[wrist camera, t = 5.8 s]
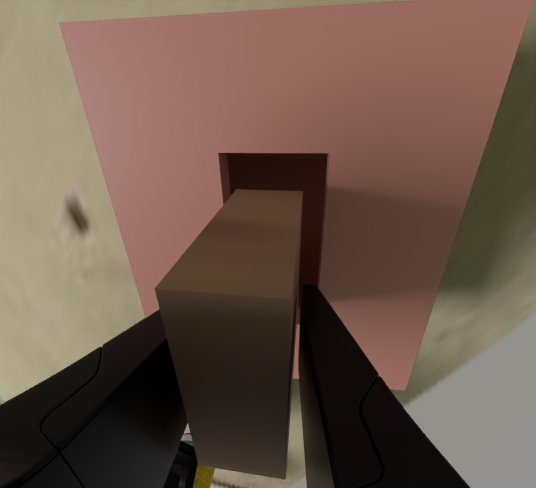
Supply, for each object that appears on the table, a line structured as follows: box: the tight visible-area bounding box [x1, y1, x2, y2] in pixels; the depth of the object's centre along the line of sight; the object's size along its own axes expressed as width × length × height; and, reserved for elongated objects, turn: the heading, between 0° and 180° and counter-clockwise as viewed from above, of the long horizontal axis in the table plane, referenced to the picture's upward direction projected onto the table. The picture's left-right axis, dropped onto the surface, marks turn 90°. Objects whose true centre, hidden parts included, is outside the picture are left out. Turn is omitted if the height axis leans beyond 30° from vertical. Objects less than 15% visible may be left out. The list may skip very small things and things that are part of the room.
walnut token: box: [155, 189, 303, 479], centre depth 7 cm, size 5×2×5 cm, turn 1°
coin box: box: [59, 0, 534, 391], centre depth 13 cm, size 14×12×7 cm
